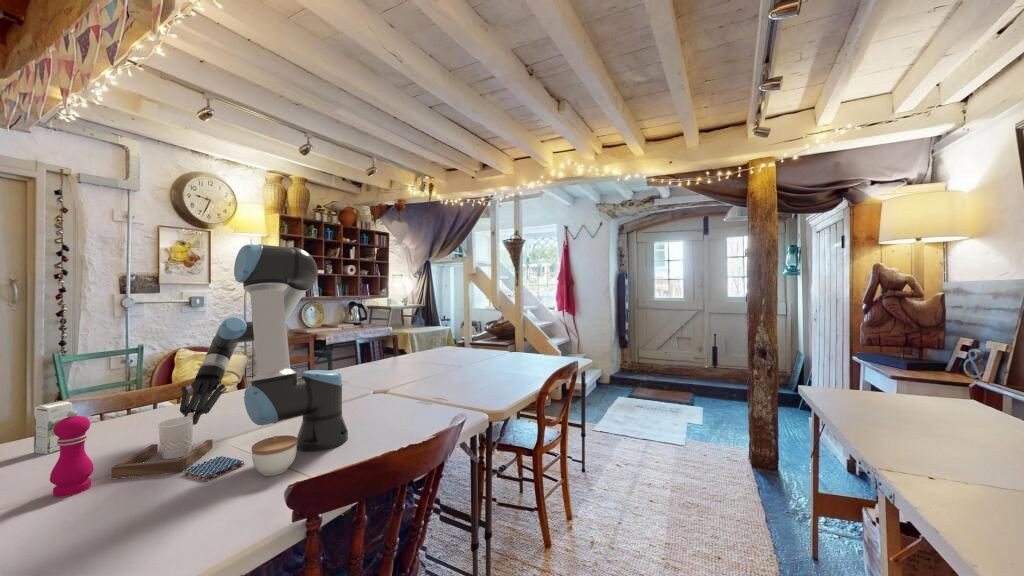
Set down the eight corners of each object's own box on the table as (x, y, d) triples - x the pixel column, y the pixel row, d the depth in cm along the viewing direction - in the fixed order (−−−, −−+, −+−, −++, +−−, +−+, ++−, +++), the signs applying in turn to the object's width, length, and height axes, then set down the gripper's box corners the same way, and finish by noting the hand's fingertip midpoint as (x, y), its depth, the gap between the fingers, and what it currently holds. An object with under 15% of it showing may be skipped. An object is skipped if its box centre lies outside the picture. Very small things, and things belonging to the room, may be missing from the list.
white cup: (172, 461, 111) (170, 428, 110) (152, 458, 113) (151, 425, 112) (200, 449, 118) (199, 418, 118) (182, 446, 120) (180, 415, 120)
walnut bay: (151, 454, 116) (151, 444, 116) (212, 448, 119) (212, 439, 119) (111, 479, 101) (111, 467, 101) (182, 471, 104) (182, 461, 104)
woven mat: (206, 484, 99) (206, 476, 99) (180, 477, 102) (180, 470, 102) (247, 466, 108) (247, 459, 108) (222, 461, 112) (222, 454, 112)
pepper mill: (53, 501, 90) (52, 417, 90) (46, 493, 94) (46, 412, 94) (97, 488, 96) (97, 408, 96) (90, 480, 100) (89, 404, 100)
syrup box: (58, 445, 122) (58, 400, 122) (72, 447, 121) (72, 401, 121) (33, 453, 117) (33, 406, 117) (47, 454, 116) (47, 407, 116)
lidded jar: (242, 476, 102) (242, 441, 102) (279, 459, 112) (279, 427, 112) (269, 483, 98) (269, 447, 98) (306, 465, 108) (306, 432, 108)
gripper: (237, 374, 140) (212, 437, 124) (195, 376, 137) (165, 441, 121) (229, 363, 135) (203, 426, 118) (186, 364, 132) (153, 430, 116)
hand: (184, 434), depth 120 cm, fingers closed
